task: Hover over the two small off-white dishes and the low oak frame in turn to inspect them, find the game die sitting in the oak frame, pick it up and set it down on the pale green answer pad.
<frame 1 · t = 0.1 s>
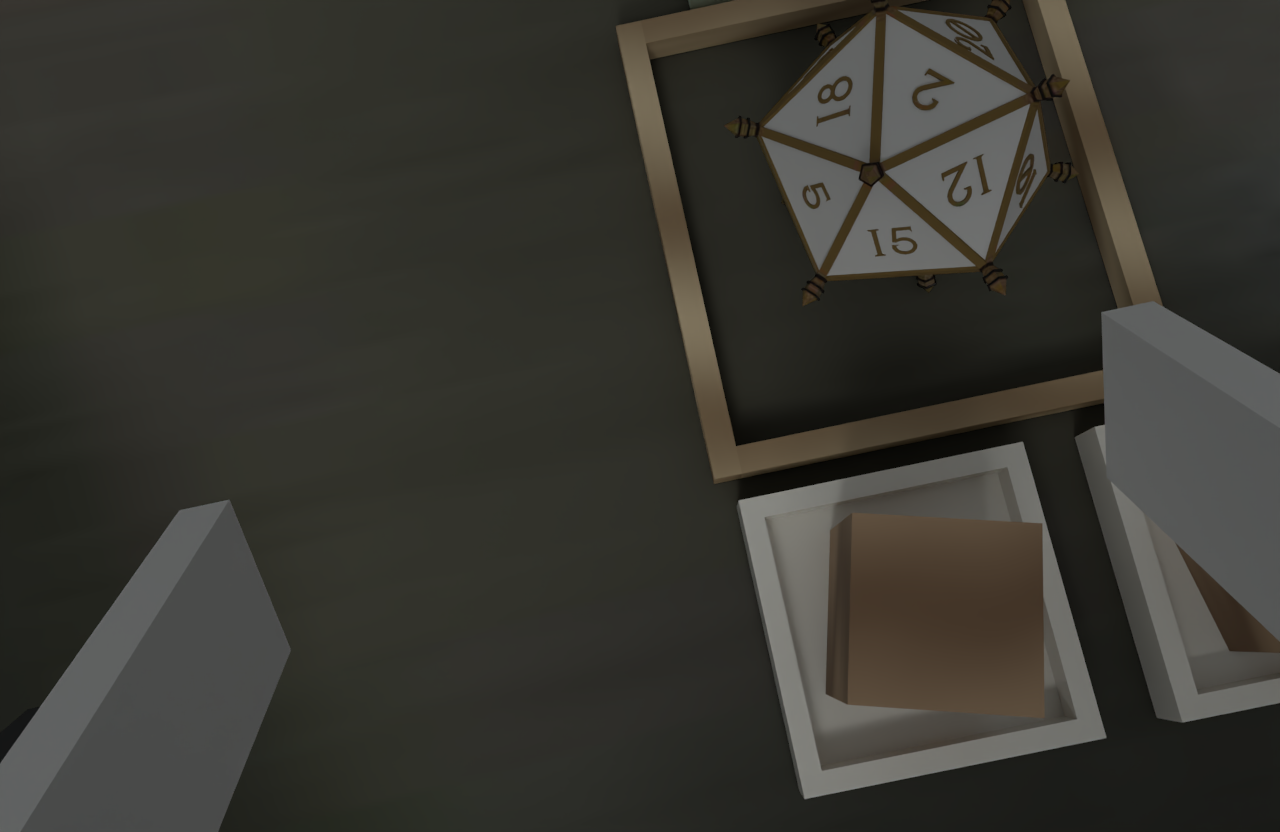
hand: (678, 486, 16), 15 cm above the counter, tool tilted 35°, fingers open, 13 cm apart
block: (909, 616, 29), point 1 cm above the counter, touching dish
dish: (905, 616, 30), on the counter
oak frame: (881, 207, 33), on the counter
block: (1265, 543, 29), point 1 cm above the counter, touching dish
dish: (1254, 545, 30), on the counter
game die: (879, 210, 33), on the counter
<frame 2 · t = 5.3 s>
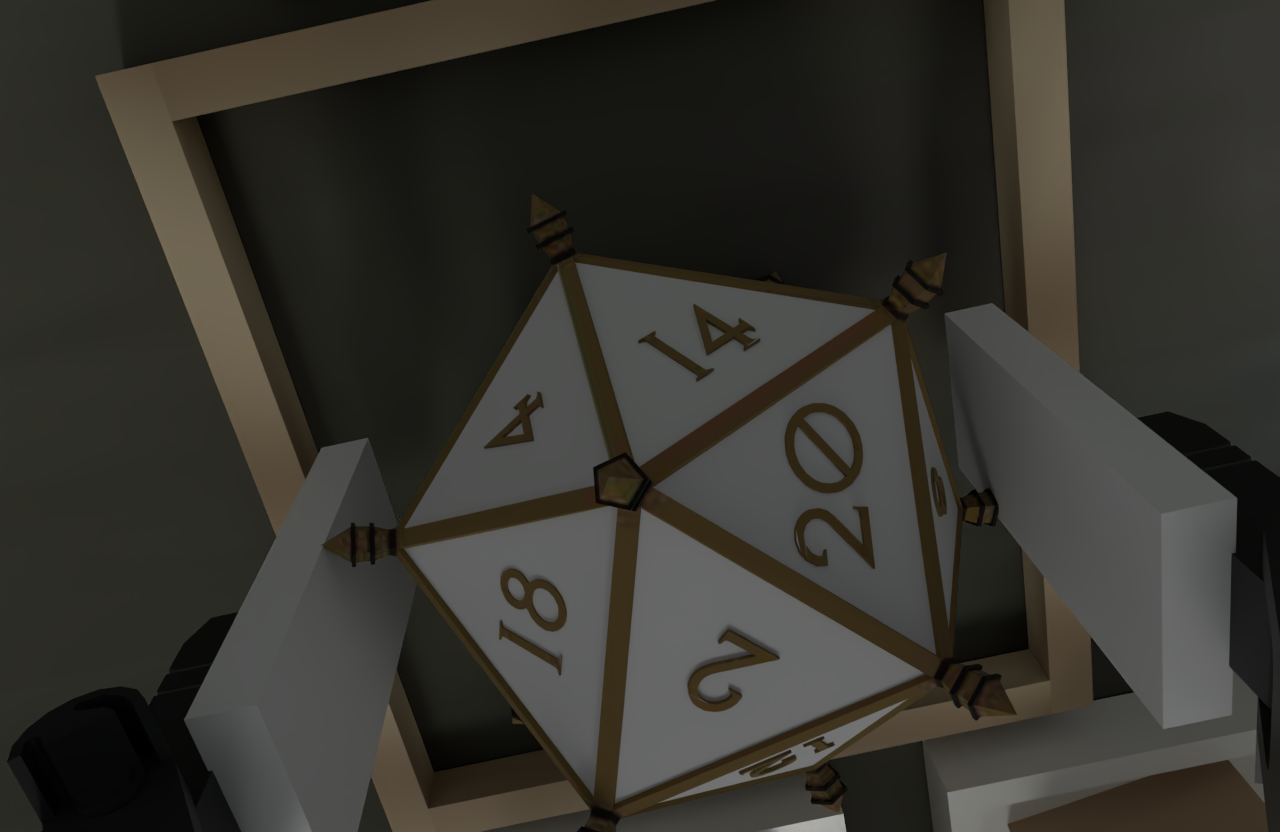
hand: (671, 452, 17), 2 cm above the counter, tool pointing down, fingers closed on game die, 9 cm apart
oak frame: (666, 416, 18), on the counter
game die: (669, 409, 19), on the counter, touching gripper
when the fingers open (3 cm above the counter, at t = 10.5 s): game die drops 1 cm, resting on answer pad.
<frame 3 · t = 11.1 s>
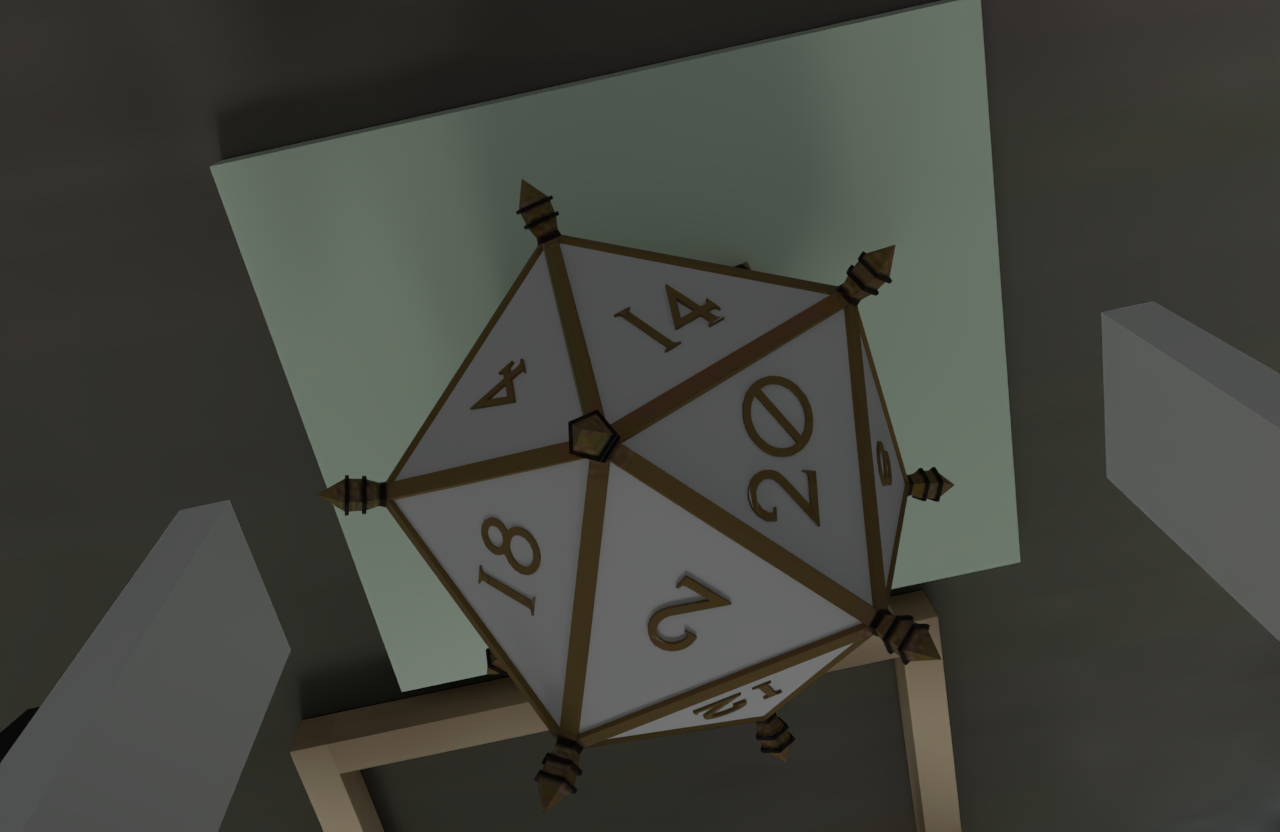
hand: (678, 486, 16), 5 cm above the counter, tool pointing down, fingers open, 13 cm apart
answer pad: (654, 373, 20), on the counter
game die: (644, 387, 20), resting on answer pad
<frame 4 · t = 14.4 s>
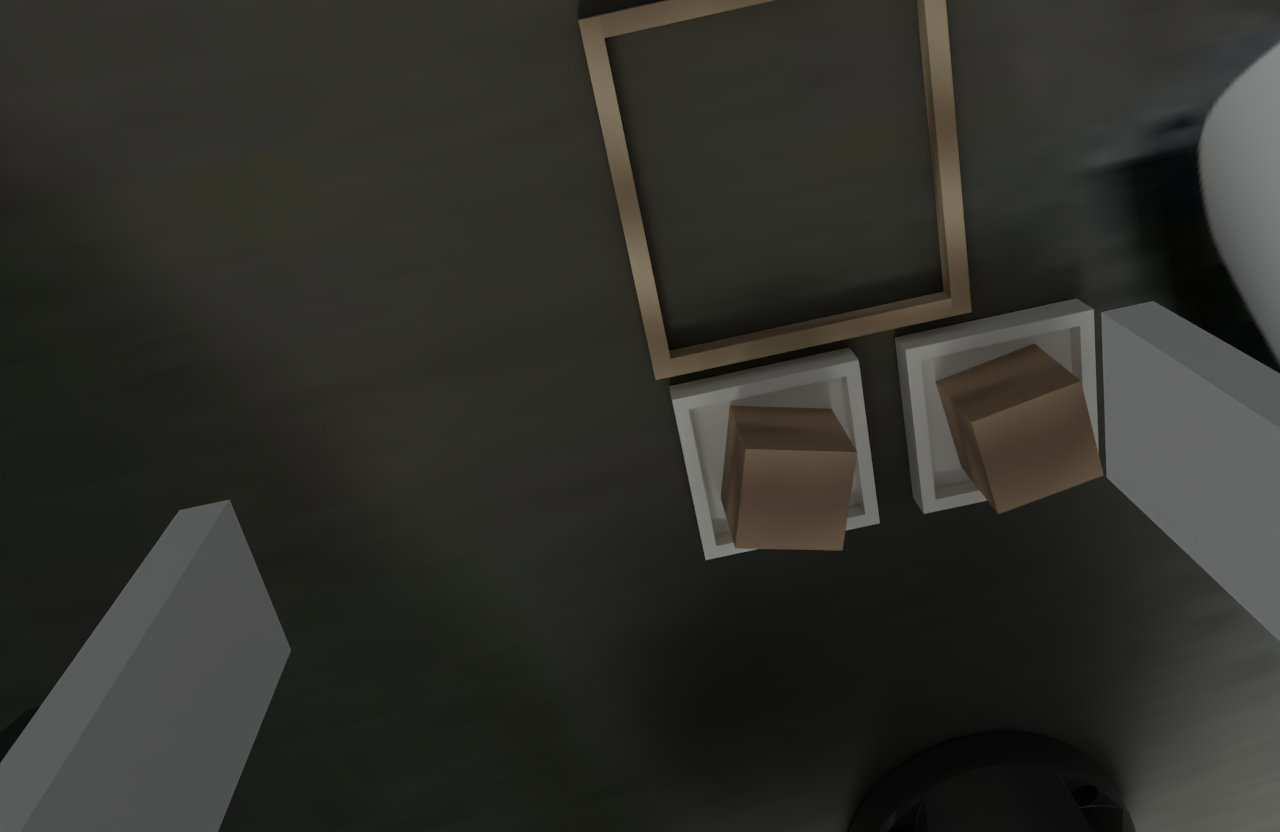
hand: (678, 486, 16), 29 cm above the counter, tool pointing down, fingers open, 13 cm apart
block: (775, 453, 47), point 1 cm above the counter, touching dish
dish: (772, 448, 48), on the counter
oak frame: (783, 171, 43), on the counter
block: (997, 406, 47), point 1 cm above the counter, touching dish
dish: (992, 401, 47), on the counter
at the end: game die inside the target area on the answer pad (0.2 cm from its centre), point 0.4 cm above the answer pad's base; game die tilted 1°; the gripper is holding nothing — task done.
